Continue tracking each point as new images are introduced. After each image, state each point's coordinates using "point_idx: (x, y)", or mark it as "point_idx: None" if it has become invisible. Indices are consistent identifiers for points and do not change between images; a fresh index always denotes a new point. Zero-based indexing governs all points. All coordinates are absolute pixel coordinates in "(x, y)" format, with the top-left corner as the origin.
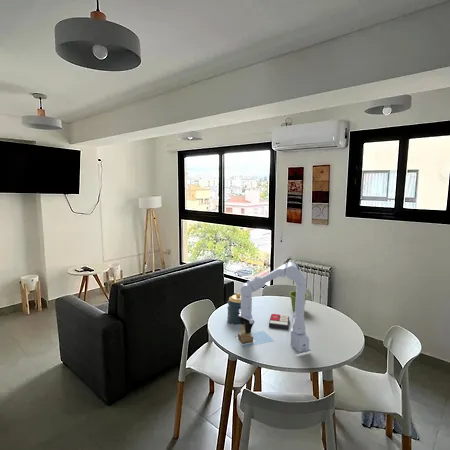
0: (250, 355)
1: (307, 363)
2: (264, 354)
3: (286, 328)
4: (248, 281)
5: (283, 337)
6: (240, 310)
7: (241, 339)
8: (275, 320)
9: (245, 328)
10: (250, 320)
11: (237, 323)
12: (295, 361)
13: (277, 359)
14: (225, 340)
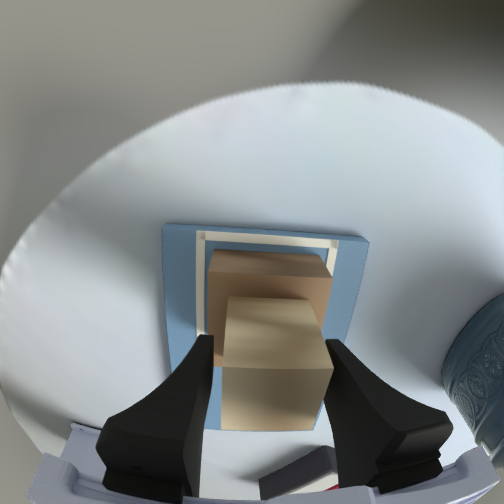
0: (74, 232)
1: (20, 402)
2: (73, 317)
3: (262, 488)
4: None
5: (216, 458)
6: (469, 488)
7: (241, 261)
8: (333, 488)
9: (193, 370)
10: (28, 494)
11: (470, 335)
12: (26, 385)
13: (32, 342)
14: (360, 146)
